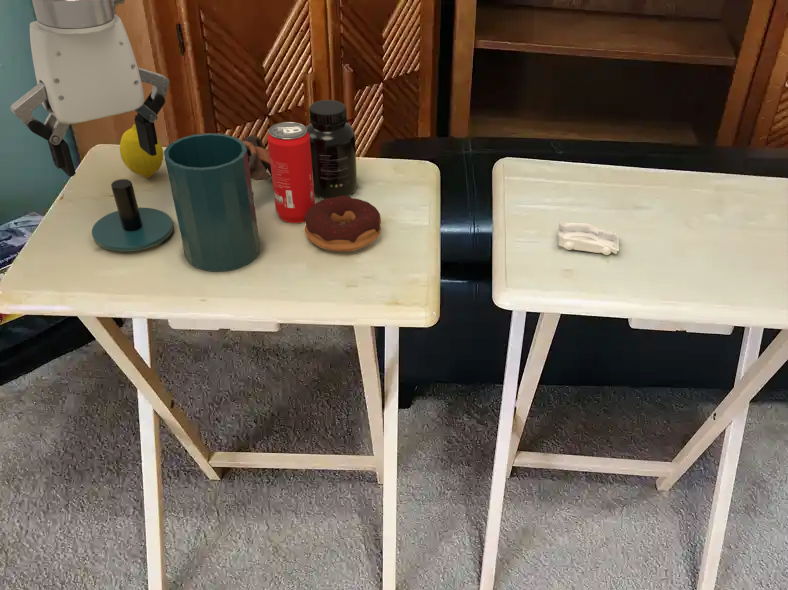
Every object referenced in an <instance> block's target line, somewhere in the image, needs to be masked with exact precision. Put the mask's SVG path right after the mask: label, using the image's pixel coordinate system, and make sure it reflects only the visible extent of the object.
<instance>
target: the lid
mask: <svg viewBox="0 0 788 590" xmlns="http://www.w3.org/2000/svg"><path fill="white" fill-rule="evenodd" d="M110 186H111V190H112V194H113V198H114V201H115V207H116V210H115V211H112V212H110V213H107V214H106V215H104V216H102V217H101V218H100V219H98V220H97V221H96V222H95V223H94V225H93V226H92V229H91V235H92V238H93V241H94V242H95V243H96V244H97V245H99V247H101V248H102V249H103V248H104V249H105V250H110V251H114V252H136V251H142V250H147V249H149V248H152V247H154V246H156V245H159V244H161V243H163V242H164V241H165V240H167V239H168V238H169V237H170V235H171V234H172V232H173V231H174V224H173V220H172V218H171V217H170V215H169V214H167V213H166V212H165V211H163V210H160V209H157V208H153V207H142V206H141V207H139V206H138V202H137V197H136V193H135V189H134V184H133V182H132V180H130V179H127V178H120V179H115V180H113V181H112V182H111V185H110Z"/></svg>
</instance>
